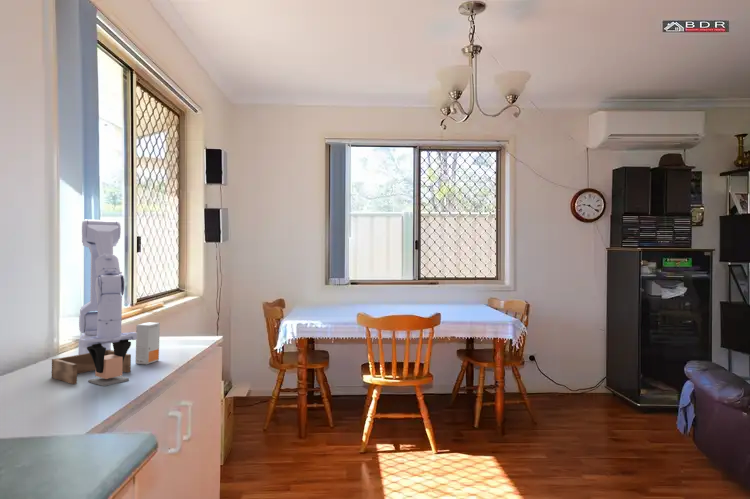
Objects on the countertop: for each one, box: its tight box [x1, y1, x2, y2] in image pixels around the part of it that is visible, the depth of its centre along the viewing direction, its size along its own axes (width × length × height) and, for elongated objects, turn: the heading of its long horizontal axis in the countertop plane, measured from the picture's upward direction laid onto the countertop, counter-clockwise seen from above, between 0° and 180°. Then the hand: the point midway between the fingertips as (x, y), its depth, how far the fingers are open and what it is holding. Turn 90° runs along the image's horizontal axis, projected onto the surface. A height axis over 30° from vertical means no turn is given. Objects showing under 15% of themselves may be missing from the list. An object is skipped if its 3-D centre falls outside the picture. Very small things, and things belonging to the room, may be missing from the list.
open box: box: [51, 349, 132, 385], centre depth 144 cm, size 11×16×5 cm
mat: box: [88, 375, 130, 387], centre depth 138 cm, size 7×7×1 cm
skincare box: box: [135, 321, 161, 365], centre depth 160 cm, size 6×4×12 cm
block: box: [94, 354, 123, 379], centre depth 138 cm, size 5×4×5 cm
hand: (108, 370), depth 138 cm, fingers closed on block, 4 cm apart
